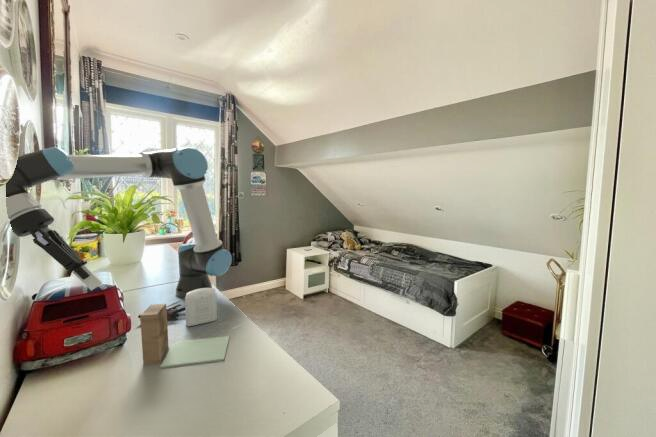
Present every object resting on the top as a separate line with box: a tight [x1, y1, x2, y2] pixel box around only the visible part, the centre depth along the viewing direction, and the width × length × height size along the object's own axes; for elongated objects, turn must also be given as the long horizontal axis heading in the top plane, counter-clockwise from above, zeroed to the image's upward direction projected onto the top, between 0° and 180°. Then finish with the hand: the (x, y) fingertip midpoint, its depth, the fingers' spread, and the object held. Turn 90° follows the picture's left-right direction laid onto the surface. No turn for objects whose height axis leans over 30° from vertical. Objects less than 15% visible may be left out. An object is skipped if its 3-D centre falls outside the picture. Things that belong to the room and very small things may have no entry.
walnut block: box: [139, 303, 170, 366], centre depth 76 cm, size 7×4×14 cm, turn 13°
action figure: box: [137, 300, 186, 322], centre depth 99 cm, size 8×6×18 cm
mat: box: [159, 335, 231, 369], centre depth 80 cm, size 12×16×1 cm
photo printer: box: [184, 287, 218, 327], centre depth 97 cm, size 10×4×12 cm, turn 123°
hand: (97, 286), depth 73 cm, fingers closed
